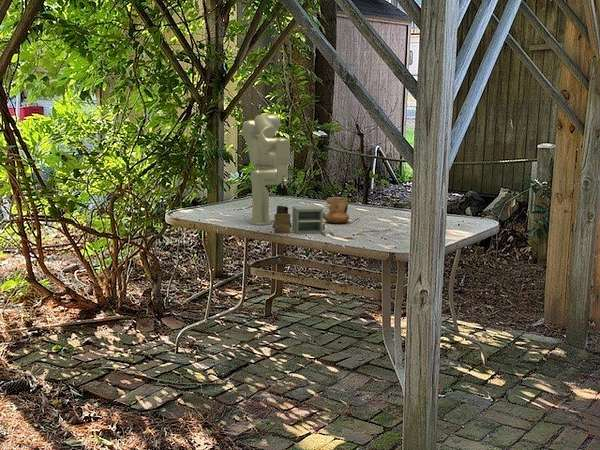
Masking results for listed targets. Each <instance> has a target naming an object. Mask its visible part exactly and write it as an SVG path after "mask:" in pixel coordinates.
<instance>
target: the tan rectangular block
mask: <svg viewBox="0 0 600 450" xmlns="http://www.w3.org/2000/svg"><path fill="white" fill-rule="evenodd" d="M290 222H291V214H290V213H288V214H276V213H275V214H274V221H273V224H274V229H273V231H274V232H273V233H274V234H291V228H290Z"/></svg>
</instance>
